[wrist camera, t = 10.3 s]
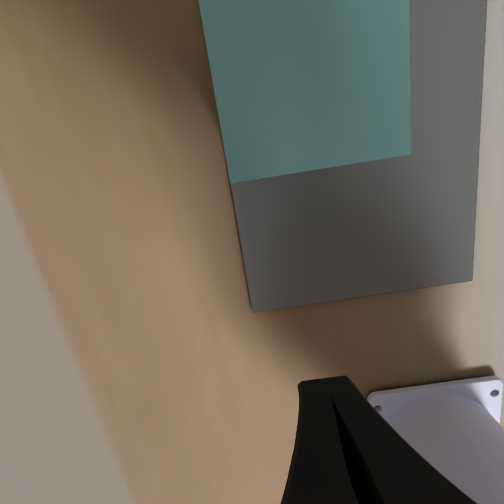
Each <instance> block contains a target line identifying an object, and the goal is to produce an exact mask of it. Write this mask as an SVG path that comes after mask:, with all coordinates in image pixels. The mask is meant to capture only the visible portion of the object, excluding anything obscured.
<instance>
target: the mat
mask: <svg viewBox="0 0 504 504" xmlns="http://www.w3.org/2000/svg"><path fill="white" fill-rule="evenodd" d="M409 9H410V102H411V155H404V156H398V157H392V158H386V159H379V160H373V161H367V162H361V163H354V164H348V165H342V166H336V167H330V168H323V169H317V170H311V171H305V172H298V173H292V174H286V175H280V176H273V177H267V178H261V179H255V180H248V181H242V182H236V183H231V188H232V194H233V200H234V206H235V212H236V218H237V223H238V229H239V235H240V241H241V247H242V253H243V259H244V265H245V271H246V276H247V282H248V288H249V294H250V300H251V306H252V312H253V313H254V312H261V311H268V310H274V309H281V308H288V307H295V306H302V305H309V304H316V303H323V302H330V301H336V300H343V299H350V298H357V297H364V296H371V295H378V294H385V293H392V292H398V291H405V290H412V289H419V288H426V287H433V286H440V285H447V284H454V283H460V282H467V281H472V279H473V260H474V240H475V221H476V202H477V183H478V164H479V145H480V126H481V107H482V88H483V69H484V50H485V31H486V12H487V0H409Z"/></svg>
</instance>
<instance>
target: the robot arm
mask: <svg viewBox="0 0 504 504" xmlns="http://www.w3.org/2000/svg"><path fill="white" fill-rule="evenodd" d="M491 391H492V392H491ZM298 392H299V415H298V425H297V432H296V439H295V445H294V451H293V455H292V460H291V465H290V469H289V474H288V478H287V482H286V486H285V490H284V494H283V497H282V501H281V504H504V429H503V428H502V426H501V425H500V414H501V403H502V392H503V382H502V381H501V380H500V379H499V378H498V377H497V376H486V377H478V378H471V379H464V380H456V381H449V382H442V383H434V384H427V385H420V386H413V387H405V388H398V389H391V390H383V391H376V392H372V393H371V394H369V396H368V398H367V399H366V398H365V397H364V396H363V395H362V394H361V392H360V391H359V390H358V389H357V388H356V386H355V385H354V384H353V383H352V381H351V380H350V379H349V378H348V377H347V376H337V377H330V378H322V379H314V380H307V381H301V382H300V383H299V384H298ZM375 406H378V407H376V408H374V407H375Z"/></svg>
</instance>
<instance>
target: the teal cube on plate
mask: <svg viewBox="0 0 504 504" xmlns="http://www.w3.org/2000/svg"><path fill="white" fill-rule="evenodd" d="M198 1H199V7H200V13H201V19H202V24H203V30H204V36H205V42H206V47H207V53H208V59H209V65H210V70H211V76H212V82H213V88H214V93H215V99H216V105H217V111H218V116H219V122H220V128H221V134H222V139H223V145H224V151H225V157H226V162H227V168H228V174H229V180H230V183H236V182H242V181H248V180H255V179H261V178H267V177H273V176H280V175H286V174H292V173H298V172H305V171H311V170H317V169H323V168H330V167H336V166H342V165H348V164H354V163H361V162H367V161H373V160H379V159H386V158H392V157H398V156H404V155H411V102H410V9H409V0H198Z"/></svg>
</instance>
